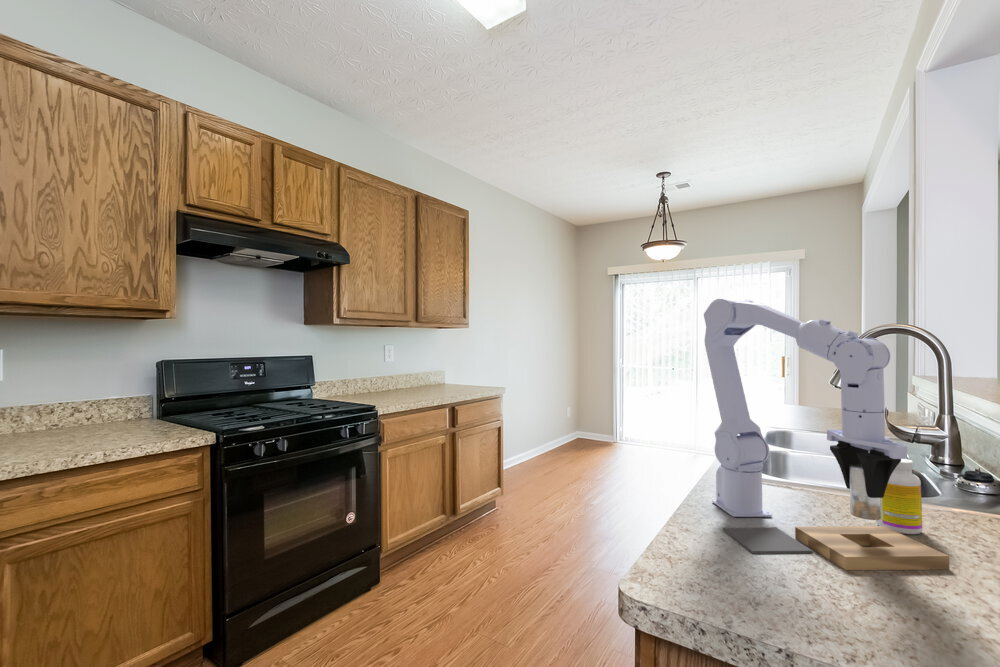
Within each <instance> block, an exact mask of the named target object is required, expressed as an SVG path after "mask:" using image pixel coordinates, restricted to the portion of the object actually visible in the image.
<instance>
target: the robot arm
mask: <svg viewBox="0 0 1000 667" xmlns="http://www.w3.org/2000/svg"><path fill="white" fill-rule="evenodd" d="M703 318H704V323H705V335H704V346H705V351H706V355H707V361H708V365H709V369H710V375H711V379H712V383H713V388H714V392H715V398H716V401H717V406H718V410H719V411H718V412H719V415H720V419H721V420H720V422H721V423H720V424H719V426H718V427H717V428H716V430H715V431H714V436H715V442H714V443H715V444H714V455H715V458H716V460H717V461H718V462H719V464H720V465H719V466H718V468H717V469H716V474H715V486H716V487H715V489H716V490H715V494H716V496H715V497H716V499H712V503H713V504H715V505H716V506H718V507H719V508H720V509H721V510H723V511H725V512H726V513H728V514H729V515H730V516H732V517H734V518H737V517H738V518H754V517H755V518H757V517H758V518H759V517H761V518H763V517H766V518H767V517H768V518H771V517H773V514H772V513H771V512H769V511H768V510H766V509H765V508H764V507H763V474H762V473H763V472H762V471H763V468H764V462H766V461H767V459H768V458H769V456H770V447H769V443H768V442H767V440H766V439H765V438H764V436H763V434H762V431H761V427H760V426H759V425H758V424H757V423H755V421H753V420H752V419H751V416H750V412H749V407H748V404H747V399H746V395H745V391H744V387H743V386H744V385H743V382H742V378H741V373H740V369H739V366H738V365H739V364H738V362H737V361H738V360H737V356H736V352H735V344H736V343H737V342H738V341H739V340H740V338H742V337H743V336H744V335H746V334H747V333H748V332H749V331H751V330H752V329H754V328H755V327H756V326H763V327H765V328H768V329H771V330H773V331H776V332H778V333H780V334H784V335H786V336H787V337H791V338H794V339H795V342H796V344H797V346H798V347H799V349H802V350H805V351H806V352H809V353H811V354H813V355H816V356H817V357H820V358H822V359H824V360H827V361H829V362H830V363H833V365H834V366H835V367H836V368H837V369H838V371H839V372H840V396H841V397H840V398H841V399H840V404H841V405H840V406H841V430H840V429H834V428H832V429H826V440H827V441H830V442H837V444H836V445H829V450H830V452H831V453H832V454H833V456H834V457H835V459H836V462H837V463H838V465H839V466H838V467H839V469H840V472H841V475H842V477H843V480H844V483H845V486H846V489H848V490H850V472H849V465H850V464H861V465H862V468H863V471H864V476H865V485H866V492H867V495H868V497H870V498H883V497H884V494H885V490H886V487H887V484H888V481H889V479H890V476H891V474H892V472H893V471H894V469H895V468H896V467H897V465H898V464H899V463H900V462H901V459H908V447H907V446H906V445H903V444H900V443H897V442H895V441H893V440H891V437H889V436H886V421H885V420H886V419H885V418H886V416H885V415H886V412H885V411H886V409H885V380H884V369H885V368H886V367H887V366H888V365H889V363H890V360H891V352H890V349H889V348H888V347H887V345H886V344H884V343H883V342H881V341H880V340H878V339H877V338H875V337H864V338H860V337H859V336H858V335H859V333H858V332H857V331H854V330H849V331H846V330H845V329H844V330H843V329H841V328H838V327H836V326H833V325H831V324H832V321H831V320H827V319H826V318H823V319H822V318H820V319H819V320H818V319H811V320H809V321H808V320H807V321H806V322H804V321H802V320H800V319H797V318H795V317H793V316H790V315H789V314H786V313H785V312H782V311H779V310H777V309H775V308H772V307H771V306H769V305H766V304H765V303H759V302H755V301H753V300H750V299H748V300H747V299H745V300H741V299H740V300H739V299H726V298H716V299H714V300H713V301H711V303H710V304H709V306H708V307H707V308H706V310H705V311H704V313H703Z"/></svg>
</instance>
